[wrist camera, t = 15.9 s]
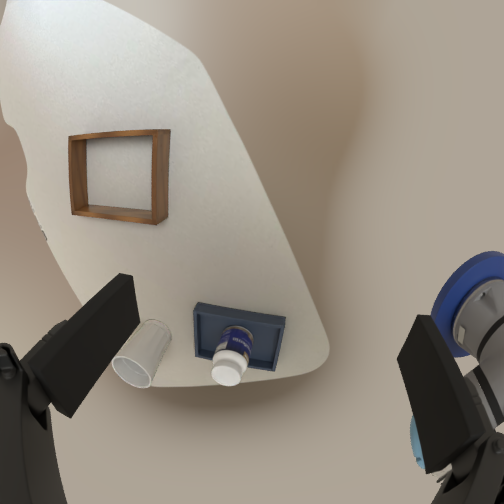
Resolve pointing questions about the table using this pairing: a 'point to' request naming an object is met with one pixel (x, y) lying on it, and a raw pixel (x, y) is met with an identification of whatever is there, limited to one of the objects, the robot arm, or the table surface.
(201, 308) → the tray
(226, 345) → the pill bottle
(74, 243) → the table surface
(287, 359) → the table surface
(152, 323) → the cup
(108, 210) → the wooden frame
